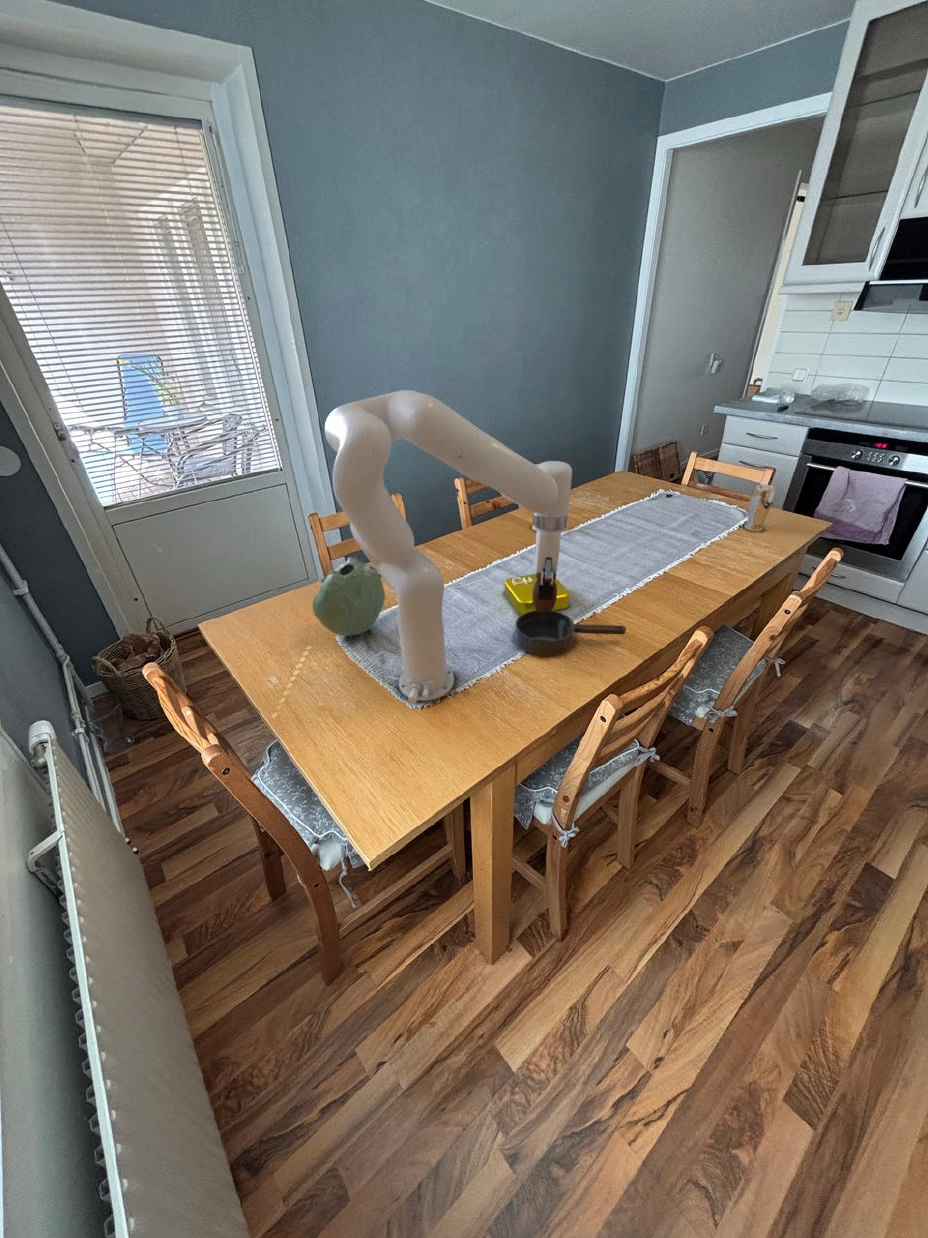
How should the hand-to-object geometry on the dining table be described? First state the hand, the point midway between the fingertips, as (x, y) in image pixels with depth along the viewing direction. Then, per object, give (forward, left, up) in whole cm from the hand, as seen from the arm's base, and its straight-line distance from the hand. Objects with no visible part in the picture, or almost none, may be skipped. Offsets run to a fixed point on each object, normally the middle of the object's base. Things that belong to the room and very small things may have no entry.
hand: (544, 590), depth 120 cm
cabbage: (+1, +50, -15) cm, 52 cm away
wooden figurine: (0, 0, -5) cm, 5 cm away
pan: (0, 0, -14) cm, 14 cm away
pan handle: (0, -14, -12) cm, 18 cm away
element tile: (+20, +2, -15) cm, 25 cm away
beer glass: (+74, -76, -15) cm, 108 cm away
